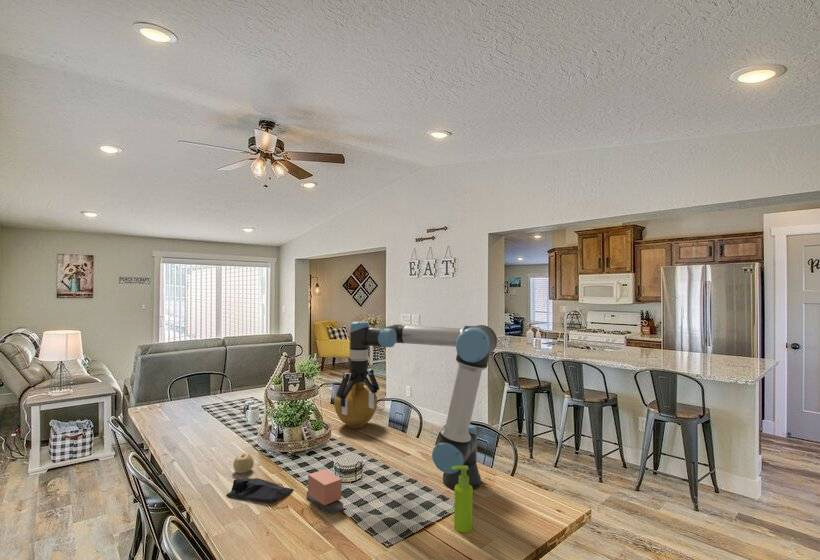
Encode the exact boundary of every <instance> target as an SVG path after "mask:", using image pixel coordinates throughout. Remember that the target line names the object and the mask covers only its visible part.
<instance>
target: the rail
mask: <svg viewBox="0 0 820 560" xmlns="http://www.w3.org/2000/svg"><path fill="white" fill-rule="evenodd" d="M306 499H308V500H310V501H311V502H312V503H313V504H314V505H317V506H318V507H319V508H320V509H321V510H323V511H324V512H326V513H327V514H329V515H334V514H336V513H338V512H341V511H344V502H342V501H341V500H337V501H335V502H333V503H330V504H328V505H323V504H321V503H320V502H319V501H317V500H316V499H315V498H313V497H312V496H310V495H309V494H308V490H306Z"/></svg>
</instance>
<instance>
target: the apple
mask: <svg viewBox="0 0 820 560" xmlns="http://www.w3.org/2000/svg"><path fill="white" fill-rule="evenodd" d="M254 463H255V462H254V457H253V456H252V455H251V454H250V453H248V452H243V453H240V454H238V455H237V456H236V457H235V458H234V460H233V466H232V467H233V469H234V471H235V473H236V474H247V473H249V472H250V471H251V470H252V469H253V468H254Z"/></svg>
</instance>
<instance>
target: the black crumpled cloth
mask: <svg viewBox="0 0 820 560" xmlns="http://www.w3.org/2000/svg"><path fill="white" fill-rule="evenodd" d="M293 491H294V489H293V488H290V487H285V486H282V485H279V484H276V483H274V482H272V481H269V480H265V479H262V478H258V477H254V478H253V477H252V478H250V477H241V478H235V479H233V483H232V487H231V490H230V491H229V492H227V494H226V496H227V497H229V498H231V497H233V498H235V499H238V500H239V499H240V500H244V501H247V500H249V501H253V502H258V503H259V502H260V503H265V504H267V503H268V504H269V503H274V502H275V501H277V500H279V499H281V498H284V497H285V496H288V495H290V494H291V493H293Z"/></svg>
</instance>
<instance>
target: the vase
mask: <svg viewBox="0 0 820 560" xmlns="http://www.w3.org/2000/svg"><path fill="white" fill-rule="evenodd" d="M347 373H350V370H349V371H347ZM350 378H351V377H350ZM350 378H349V379H350ZM348 381H349V380H348ZM352 381H353V380H352ZM369 392H371V391H370V390H369V388H368V387H365V383H364V382H359V383H356V384H355V385H353V387H352V389H351V390H350V392H349V393H348V395H347V397H346V398H347V399H348V400H347V415H344V414H342V406H341V399H340V398H339V397H336V395H335V396H334V399H333V402H334V403H333V405H334V408H335V413H336V415H337V417H338V419H339V420H340V421H341V422H342V423H343V424H344V425H346V426H347V428H350V429H359V428H363V427H364V426H365V425H366V424H367V423H369V422H370V420H372V418H373V417H374V415H375V414H376V410H377V408H378V407H377V406H378V396H377V394H376V393H375V400H374V409H372V408H369Z"/></svg>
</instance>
